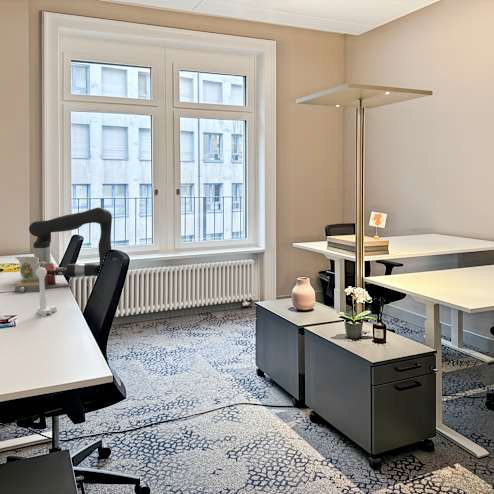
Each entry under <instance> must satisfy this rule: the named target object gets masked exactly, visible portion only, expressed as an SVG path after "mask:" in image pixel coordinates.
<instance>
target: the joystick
mask: <svg viewBox="0 0 494 494" xmlns="http://www.w3.org/2000/svg"><path fill="white" fill-rule="evenodd" d="M46 274H47V271H46V269H45V268H43V267H40V268H38V269H37V270H36V275H37V276H38V277H39V278H38V279H39V287H40V291H39V305H37V314H38V315H40V316H42V317H46V316H47V315H52V313H56V312H57V305H50V306H48V305H47V298H46V297H47V296H46V289H45V284H44V277H45V276H46Z"/></svg>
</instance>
